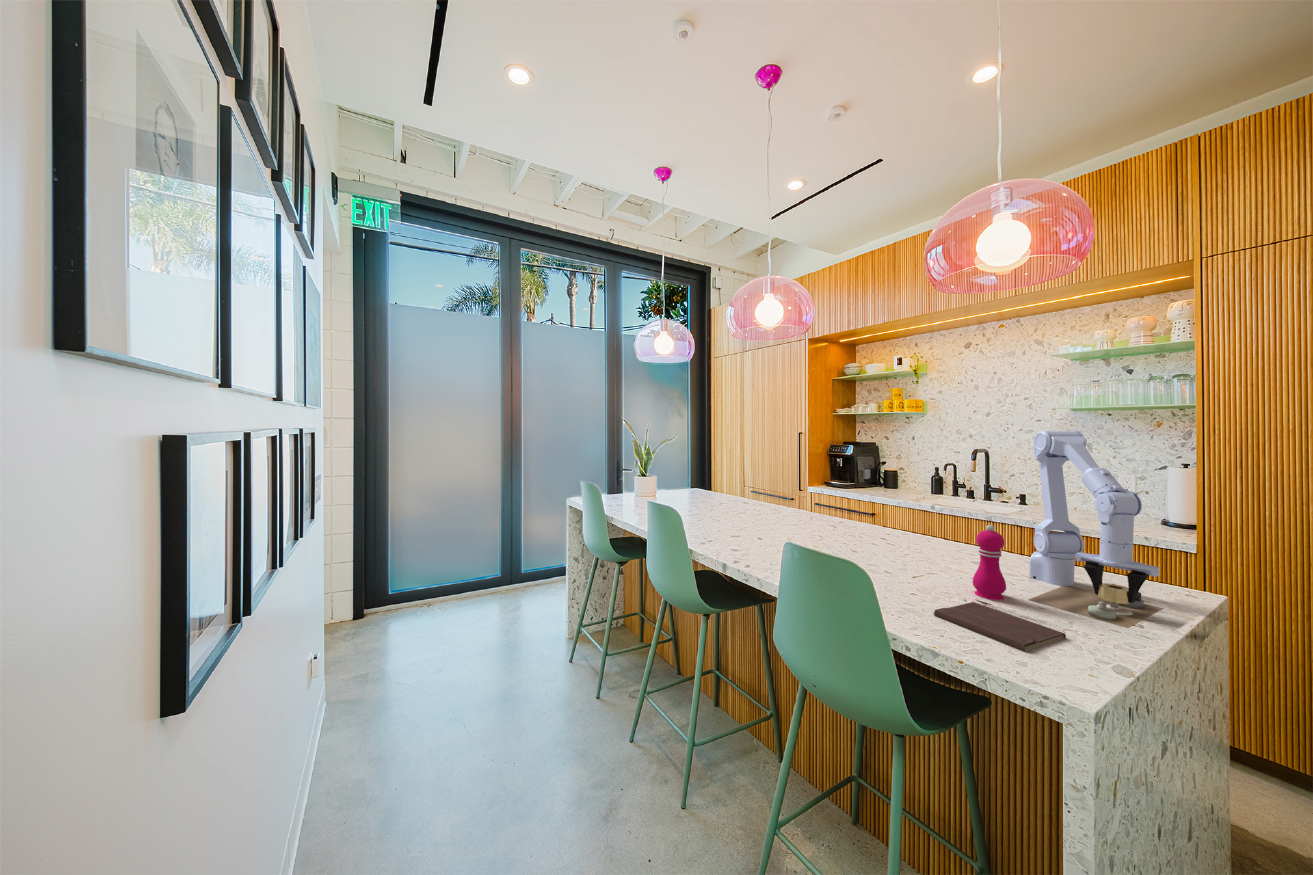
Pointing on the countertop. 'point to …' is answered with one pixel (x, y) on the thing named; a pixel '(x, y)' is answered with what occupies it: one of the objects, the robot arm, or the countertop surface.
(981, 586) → the pepper mill
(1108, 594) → the brass idler gear
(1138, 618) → the board
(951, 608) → the notebook
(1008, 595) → the countertop surface
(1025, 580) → the countertop surface
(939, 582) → the countertop surface
